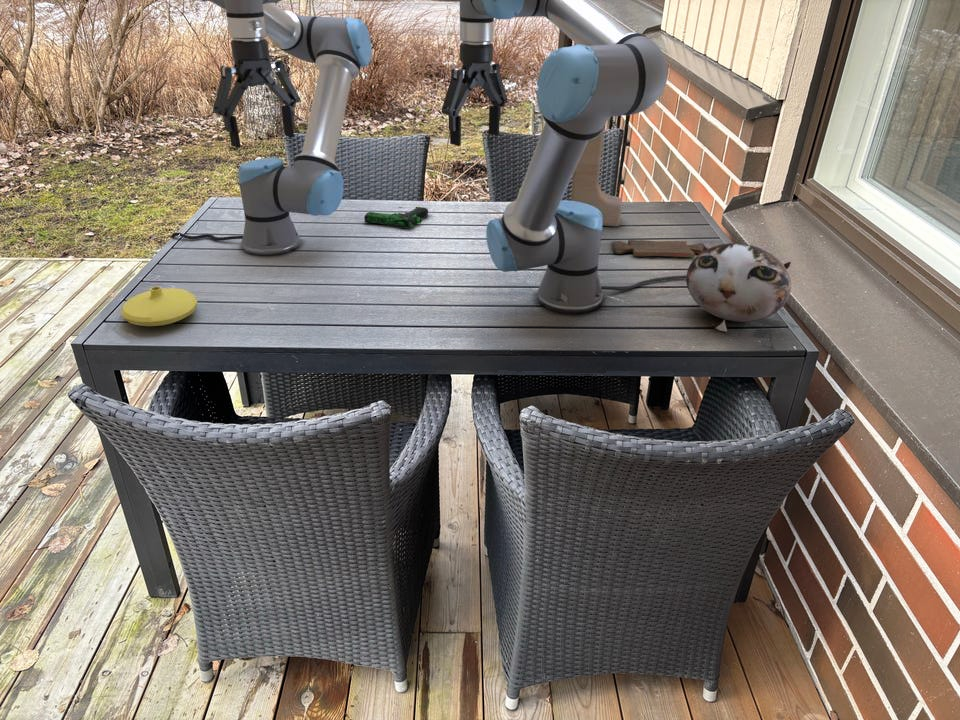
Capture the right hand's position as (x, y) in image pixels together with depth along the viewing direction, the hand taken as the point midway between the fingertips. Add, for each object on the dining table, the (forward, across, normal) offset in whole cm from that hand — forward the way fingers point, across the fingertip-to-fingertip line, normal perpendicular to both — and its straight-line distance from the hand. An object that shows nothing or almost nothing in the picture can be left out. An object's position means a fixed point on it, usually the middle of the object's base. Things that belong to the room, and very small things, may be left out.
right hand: (475, 139), depth 169 cm
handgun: (+33, -10, -40) cm, 53 cm away
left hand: (-1, +38, -30) cm, 49 cm away
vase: (+33, +69, -31) cm, 82 cm away
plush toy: (+32, -18, +62) cm, 72 cm away
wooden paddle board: (+33, -43, +30) cm, 62 cm away
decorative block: (+33, -50, +4) cm, 60 cm away
